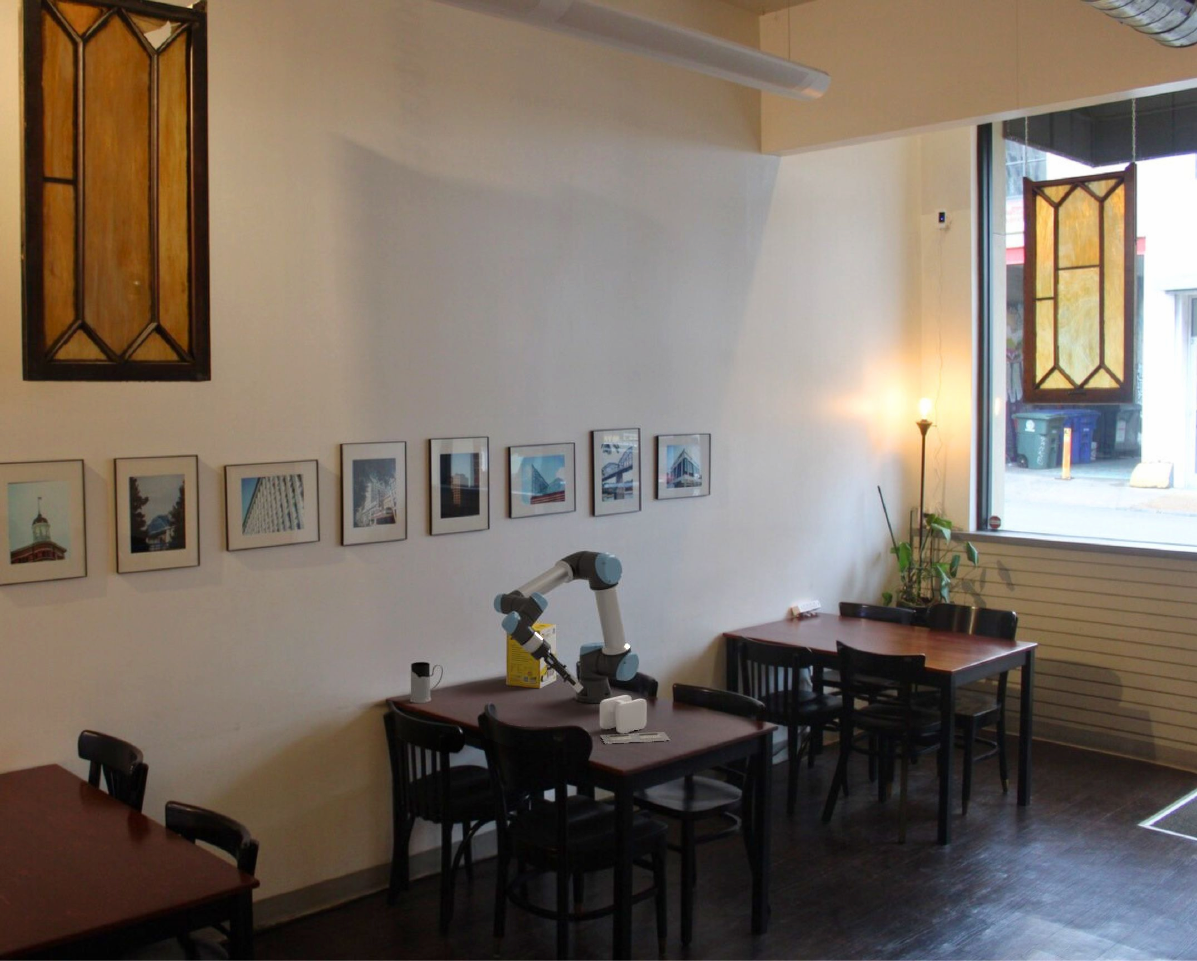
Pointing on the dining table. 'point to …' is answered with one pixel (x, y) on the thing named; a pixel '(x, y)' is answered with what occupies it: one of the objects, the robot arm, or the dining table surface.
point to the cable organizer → (623, 714)
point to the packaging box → (530, 660)
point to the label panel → (634, 737)
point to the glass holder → (421, 682)
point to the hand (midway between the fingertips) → (578, 686)
